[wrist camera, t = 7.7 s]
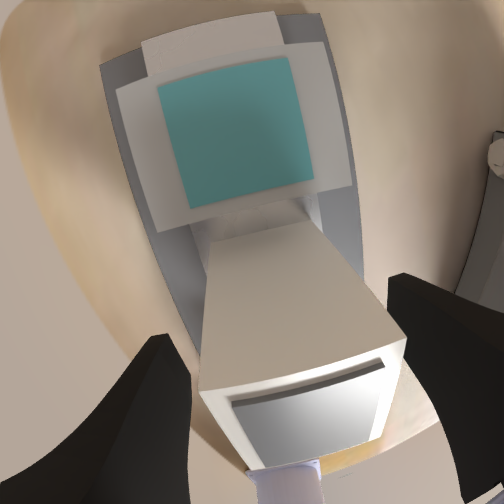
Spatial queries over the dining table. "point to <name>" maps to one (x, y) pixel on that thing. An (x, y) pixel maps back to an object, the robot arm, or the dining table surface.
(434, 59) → the dining table surface
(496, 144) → the electrical component
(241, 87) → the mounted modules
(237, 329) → the block
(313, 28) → the plate
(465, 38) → the dining table surface
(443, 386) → the robot arm
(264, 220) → the din rail
